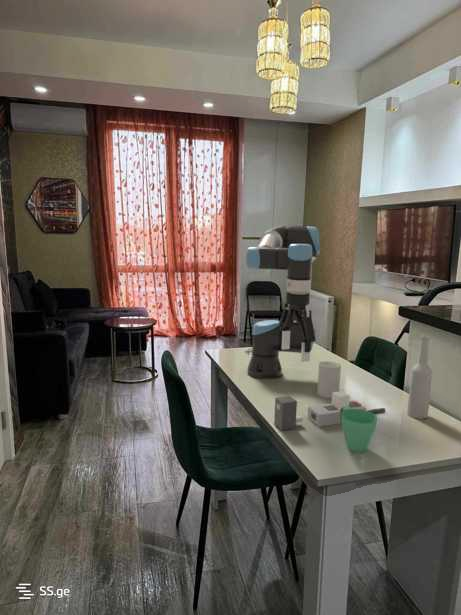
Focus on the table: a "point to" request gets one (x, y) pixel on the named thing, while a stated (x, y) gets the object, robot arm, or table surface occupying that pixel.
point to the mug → (357, 428)
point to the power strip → (332, 413)
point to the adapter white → (340, 399)
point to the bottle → (420, 384)
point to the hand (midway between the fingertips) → (294, 354)
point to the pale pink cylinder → (328, 378)
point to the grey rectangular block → (286, 413)
